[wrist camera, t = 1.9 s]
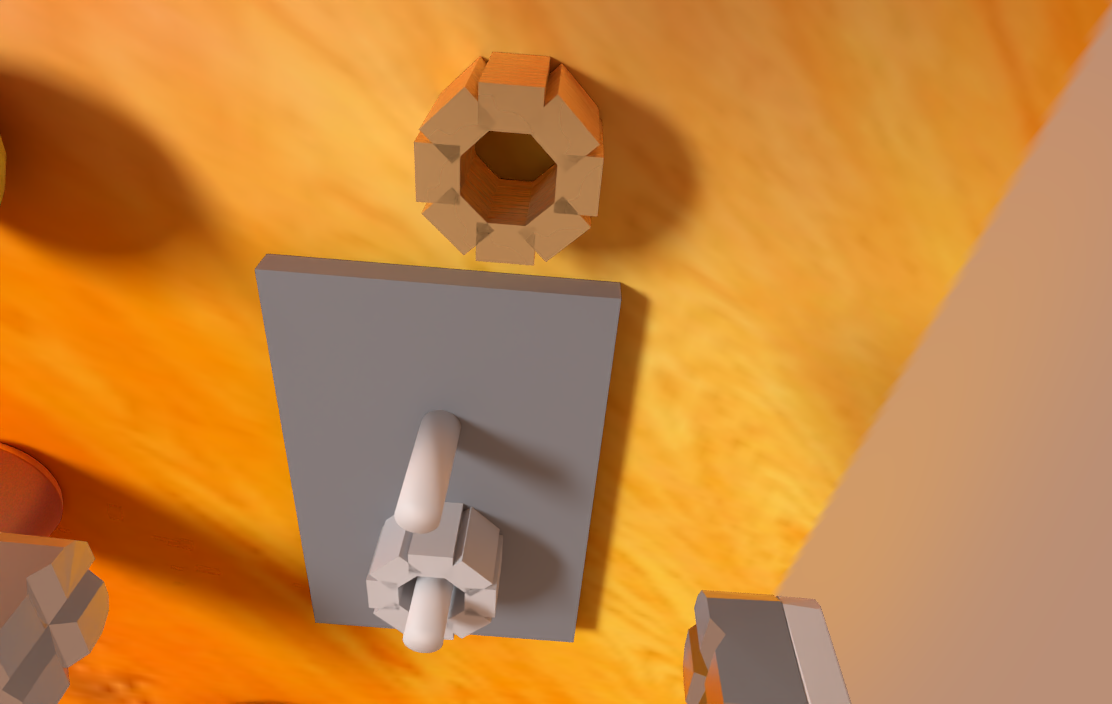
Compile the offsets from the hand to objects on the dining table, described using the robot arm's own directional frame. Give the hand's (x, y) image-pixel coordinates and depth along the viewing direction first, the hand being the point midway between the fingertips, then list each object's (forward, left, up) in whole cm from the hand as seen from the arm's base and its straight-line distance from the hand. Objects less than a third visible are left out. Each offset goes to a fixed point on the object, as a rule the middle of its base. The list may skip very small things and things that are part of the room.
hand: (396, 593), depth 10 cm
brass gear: (0, 0, -18) cm, 18 cm away
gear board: (+15, -2, -18) cm, 23 cm away
